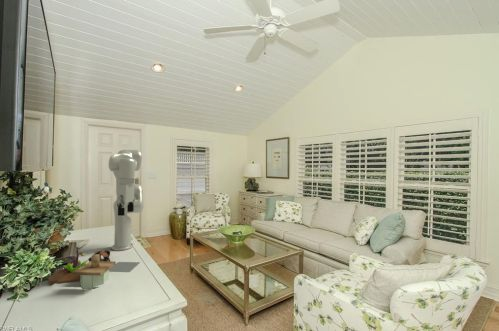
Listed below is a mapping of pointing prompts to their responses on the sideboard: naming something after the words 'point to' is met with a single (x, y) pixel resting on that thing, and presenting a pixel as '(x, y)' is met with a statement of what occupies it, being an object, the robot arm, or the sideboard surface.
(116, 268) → the mat
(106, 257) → the brown animal figurine
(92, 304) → the sideboard surface
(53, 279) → the plant
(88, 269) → the lid
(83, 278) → the bowl
